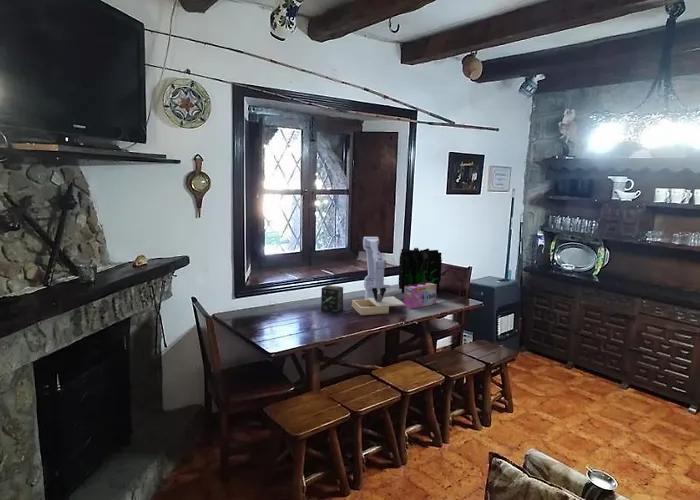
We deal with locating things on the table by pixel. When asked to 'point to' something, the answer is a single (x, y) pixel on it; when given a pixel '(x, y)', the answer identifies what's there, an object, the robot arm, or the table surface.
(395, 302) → the lid
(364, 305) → the beige wooden tray
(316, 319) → the table surface
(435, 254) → the decorative plant
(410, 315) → the table surface
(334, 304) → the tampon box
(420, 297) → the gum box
